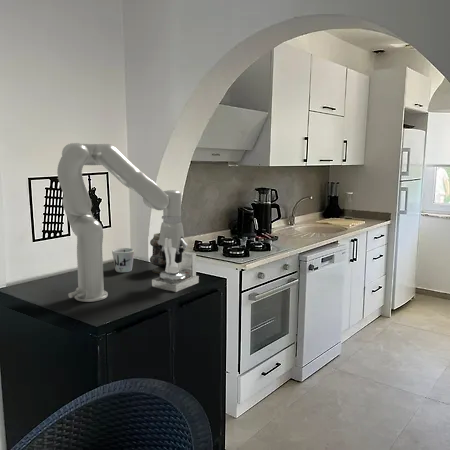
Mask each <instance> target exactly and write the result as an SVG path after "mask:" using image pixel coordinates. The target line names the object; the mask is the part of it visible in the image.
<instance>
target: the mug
mask: <svg viewBox="0 0 450 450" xmlns="http://www.w3.org/2000/svg"><path fill="white" fill-rule="evenodd" d="M111 252H112V258H113V263H114V269H115V271H116V272H117V273H129V272H132V269H133V266H134V265H133V264H134V256H135V249H133V248H130V247H121V248H120V247H119V248H115V249H113V250H111Z"/></svg>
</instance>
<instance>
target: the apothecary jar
mask: <svg viewBox="0 0 450 450" xmlns="http://www.w3.org/2000/svg"><path fill="white" fill-rule="evenodd" d="M159 239H160V232H157V233H154V234H153V237H152V238H151V239H150V242H149V245H150V246H152V255H151V256H150V257H149V262H150V263H151V264H152V265H153V266H157V267H155V268H153V269H152V270H151V271H152V273H154V274H160V273H161V272H163V271H165V269H166V261H163V251H162V249H161V248H160V245H159V244H158V243H157V241H158V240H159Z"/></svg>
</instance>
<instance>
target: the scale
mask: <svg viewBox="0 0 450 450" xmlns="http://www.w3.org/2000/svg"><path fill="white" fill-rule="evenodd" d="M179 270H180V271H181V270H183V271H184V272H185V273H186V276H185V277H184V278H182V279H176V280H168V279H163V278H161V277H160V276H159V277H157V278H156V277H155V278H153V279H151V286H152V287H153V288H156V289H161V290H166V291H170V292H175V293H177V292H179V291H183V290H185V289H187V288H189V287H192V286H194V285H196V284H199V283H200V279H199V277H200V276H199V275H197V253H195V252H189V251H184V252H183V253H182V262H180V263H179Z"/></svg>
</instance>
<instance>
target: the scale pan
mask: <svg viewBox="0 0 450 450" xmlns="http://www.w3.org/2000/svg"><path fill="white" fill-rule="evenodd" d="M185 276H186V273H185V272H184V271H183V270H181V271H180V270H179V272H178V273H166V272H165V271H163V272H161V273H159V277H161V278H163V279H168V280H176V279H182V278H184V277H185Z"/></svg>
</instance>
